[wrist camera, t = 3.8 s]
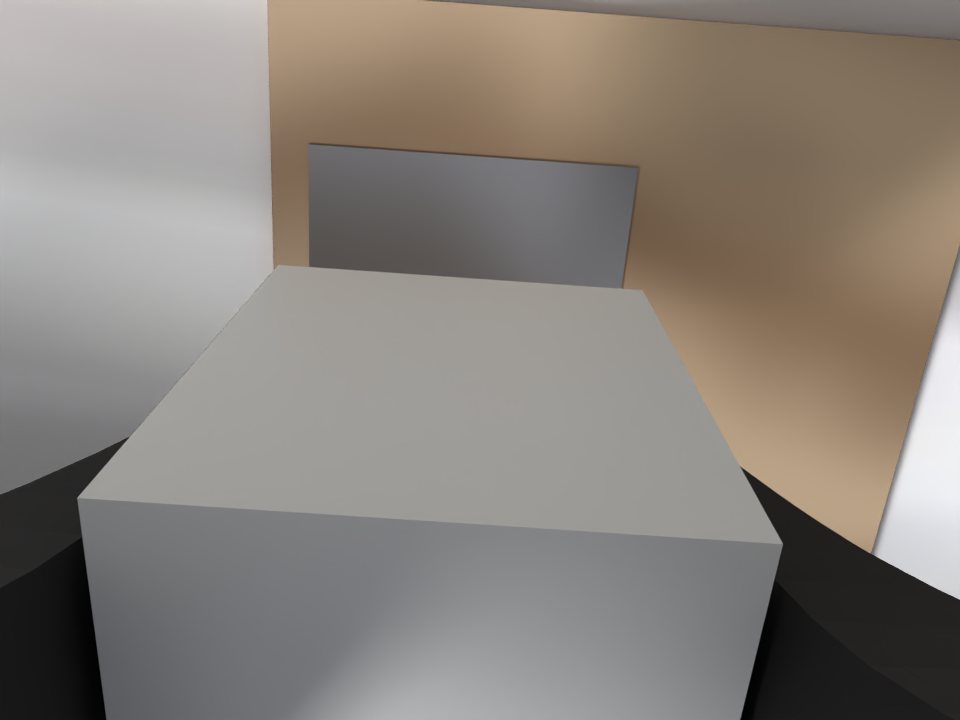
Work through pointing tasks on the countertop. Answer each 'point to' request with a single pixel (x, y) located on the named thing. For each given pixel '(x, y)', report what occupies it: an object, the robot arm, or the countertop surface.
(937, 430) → the countertop surface
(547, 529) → the grey block
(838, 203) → the board
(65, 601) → the robot arm
